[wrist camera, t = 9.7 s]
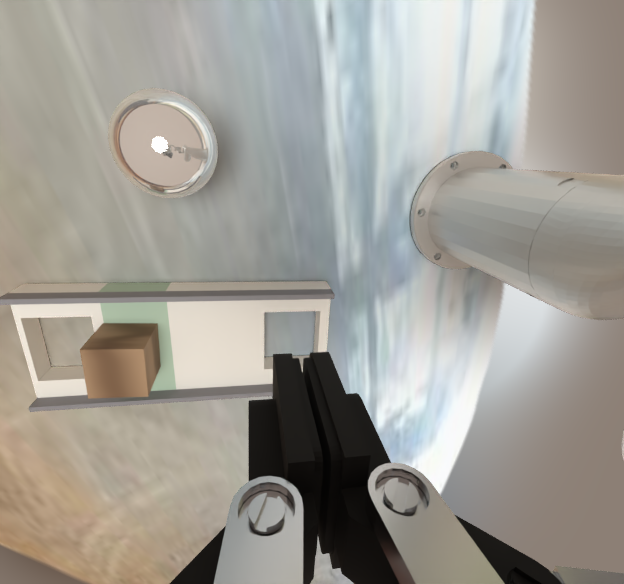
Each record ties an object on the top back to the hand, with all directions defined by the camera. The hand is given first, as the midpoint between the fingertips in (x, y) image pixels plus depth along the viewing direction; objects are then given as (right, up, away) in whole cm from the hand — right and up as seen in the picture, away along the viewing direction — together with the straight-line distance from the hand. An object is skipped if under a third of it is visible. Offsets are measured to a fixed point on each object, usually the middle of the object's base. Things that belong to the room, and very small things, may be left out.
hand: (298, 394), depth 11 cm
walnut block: (-18, -2, +24) cm, 30 cm away
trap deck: (-13, -1, +28) cm, 31 cm away
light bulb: (-11, +16, +21) cm, 29 cm away
